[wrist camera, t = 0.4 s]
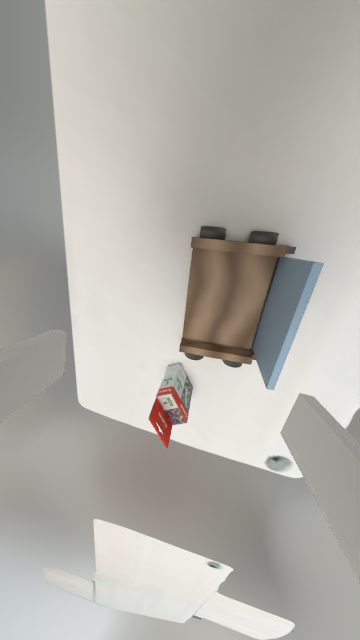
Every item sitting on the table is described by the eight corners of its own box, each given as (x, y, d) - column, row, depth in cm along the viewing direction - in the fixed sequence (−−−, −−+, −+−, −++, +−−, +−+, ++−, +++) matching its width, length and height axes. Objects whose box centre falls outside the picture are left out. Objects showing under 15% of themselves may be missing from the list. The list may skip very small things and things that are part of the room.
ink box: (180, 362, 43) (165, 414, 29) (193, 387, 45) (184, 447, 32) (167, 365, 44) (146, 418, 30) (180, 390, 46) (166, 449, 33)
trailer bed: (182, 347, 41) (178, 358, 37) (196, 227, 31) (193, 224, 27) (254, 360, 39) (259, 373, 35) (293, 236, 29) (306, 235, 25)
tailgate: (251, 347, 38) (265, 388, 27) (278, 256, 30) (312, 262, 20) (257, 348, 37) (275, 390, 27) (286, 257, 30) (326, 263, 20)
